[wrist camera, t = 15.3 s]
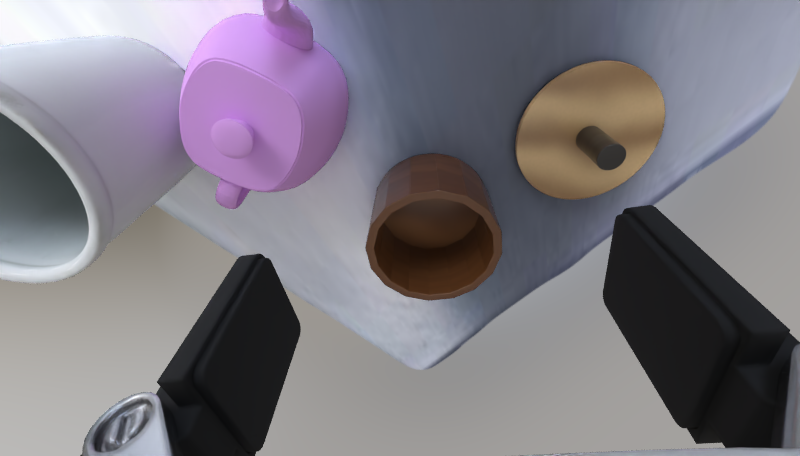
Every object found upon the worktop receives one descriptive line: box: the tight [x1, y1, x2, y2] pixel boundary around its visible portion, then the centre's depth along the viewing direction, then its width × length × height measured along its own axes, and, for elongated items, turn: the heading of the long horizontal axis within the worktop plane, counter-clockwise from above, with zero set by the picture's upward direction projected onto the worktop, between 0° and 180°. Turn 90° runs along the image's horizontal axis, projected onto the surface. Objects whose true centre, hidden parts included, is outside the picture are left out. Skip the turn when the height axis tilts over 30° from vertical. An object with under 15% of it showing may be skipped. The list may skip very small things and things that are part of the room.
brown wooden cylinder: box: [366, 154, 502, 301], centre depth 38 cm, size 13×13×8 cm
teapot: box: [179, 0, 349, 209], centre depth 30 cm, size 20×13×12 cm, turn 154°
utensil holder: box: [0, 36, 196, 283], centre depth 29 cm, size 15×15×18 cm
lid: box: [515, 60, 665, 199], centre depth 34 cm, size 14×14×6 cm
